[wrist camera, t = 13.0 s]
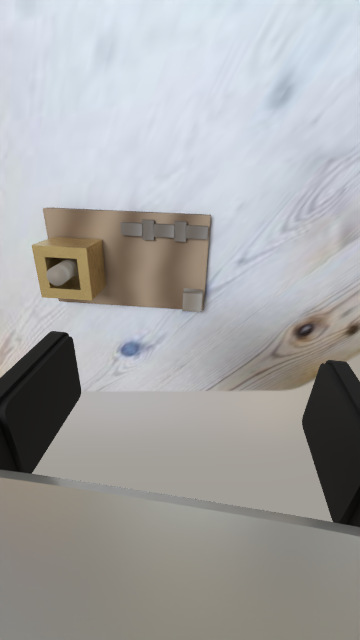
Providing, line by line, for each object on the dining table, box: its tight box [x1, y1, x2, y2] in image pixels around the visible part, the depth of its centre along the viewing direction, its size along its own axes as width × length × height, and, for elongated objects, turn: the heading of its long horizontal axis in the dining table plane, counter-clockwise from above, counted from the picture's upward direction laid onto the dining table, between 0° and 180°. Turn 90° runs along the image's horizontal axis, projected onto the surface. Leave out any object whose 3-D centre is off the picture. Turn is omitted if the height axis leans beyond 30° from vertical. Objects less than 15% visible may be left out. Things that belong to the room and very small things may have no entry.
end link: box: [32, 237, 106, 300], centre depth 34 cm, size 6×6×5 cm
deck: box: [43, 208, 211, 312], centre depth 33 cm, size 20×12×8 cm, turn 88°
